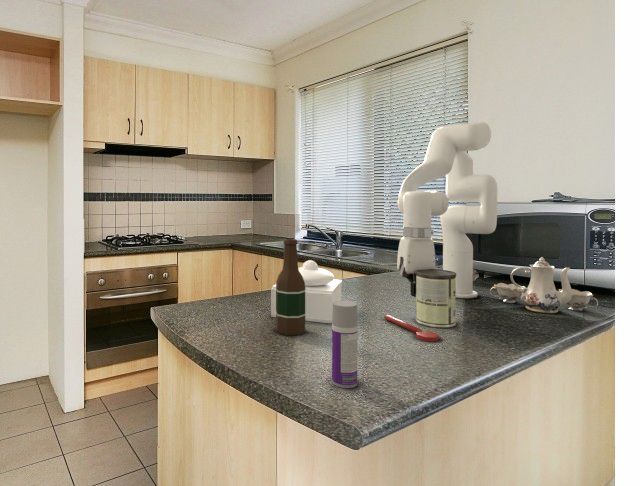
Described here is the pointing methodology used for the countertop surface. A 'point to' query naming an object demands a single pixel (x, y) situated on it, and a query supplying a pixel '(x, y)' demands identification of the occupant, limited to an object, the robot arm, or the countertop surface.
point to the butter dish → (316, 293)
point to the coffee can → (435, 297)
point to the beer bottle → (290, 293)
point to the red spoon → (414, 329)
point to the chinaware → (544, 290)
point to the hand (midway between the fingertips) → (416, 296)
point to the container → (344, 344)
